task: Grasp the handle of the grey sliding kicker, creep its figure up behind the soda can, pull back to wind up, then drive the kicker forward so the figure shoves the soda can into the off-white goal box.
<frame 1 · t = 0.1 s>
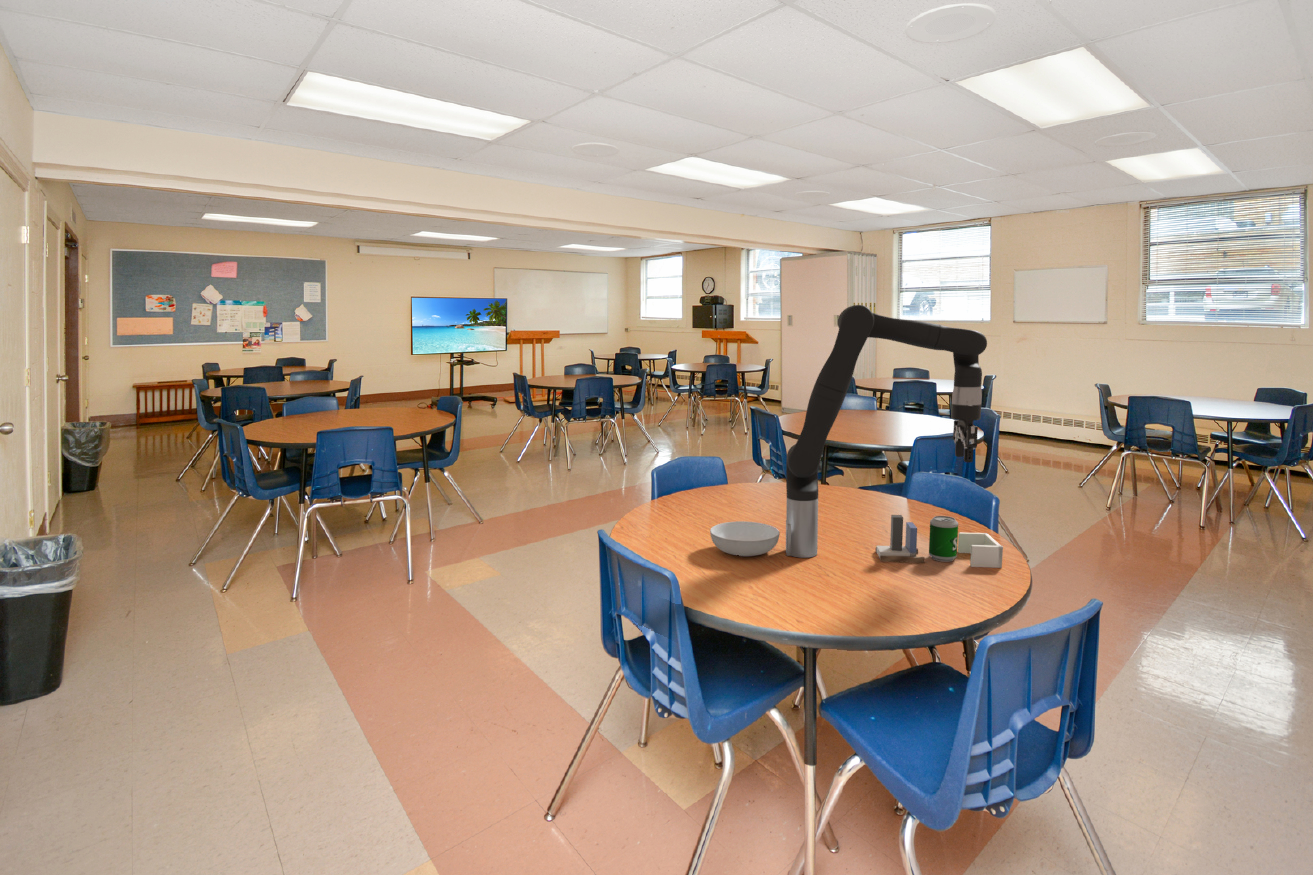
hand: (963, 459, 190), 29 cm above the table, fingers open, 8 cm apart
serving bowl: (744, 552, 204), on the table
goal: (979, 559, 192), on the table
track: (899, 557, 196), on the table
kicker: (896, 535, 195), point 6 cm above the table, slide at 0.0 cm
soda can: (942, 559, 194), on the table
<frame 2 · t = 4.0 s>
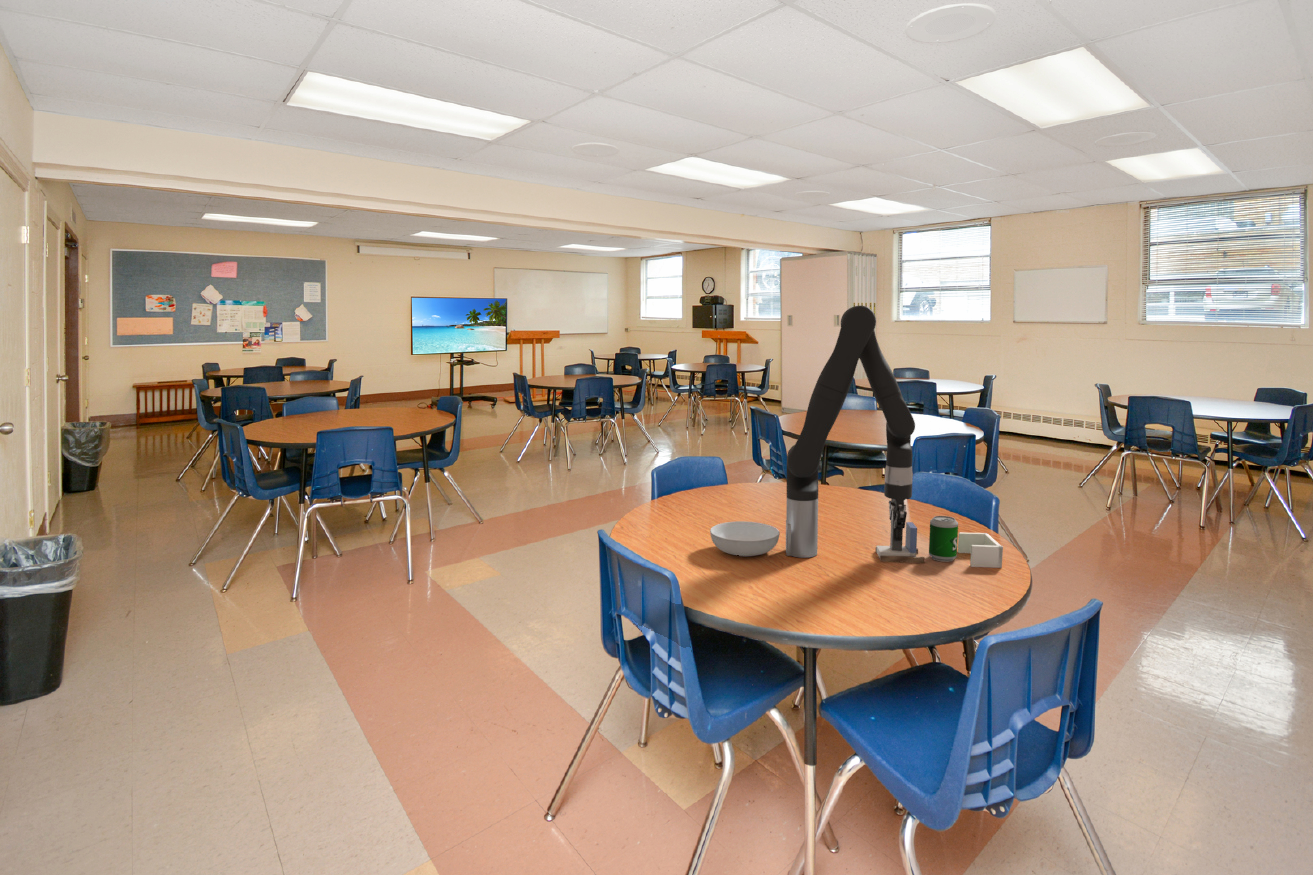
hand: (896, 538, 195), 6 cm above the table, fingers closed on kicker, 3 cm apart
kicker: (896, 535, 195), point 6 cm above the table, slide at 0.0 cm, touching gripper
everything else where it was.
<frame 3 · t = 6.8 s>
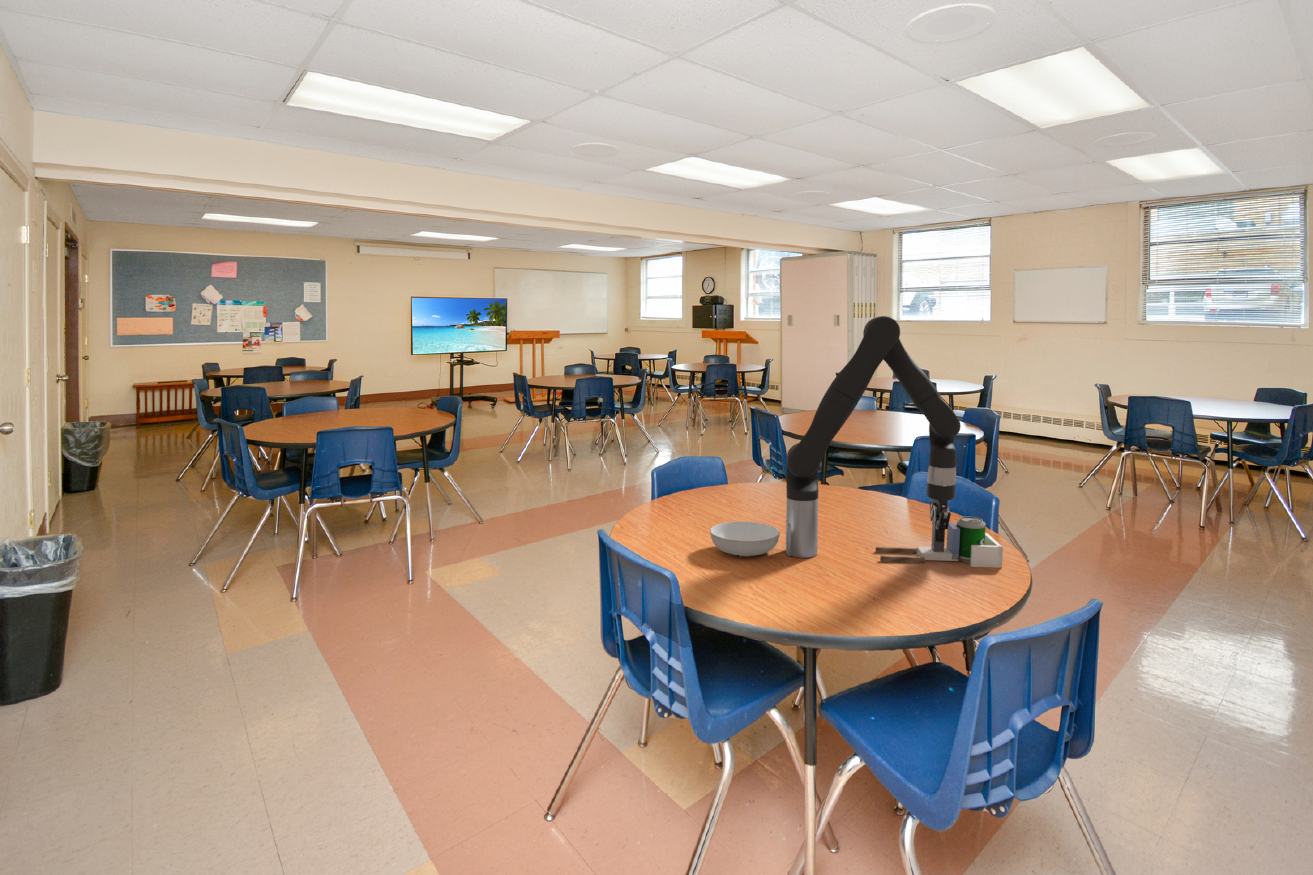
hand: (938, 539, 193), 6 cm above the table, fingers closed on kicker, 3 cm apart
kicker: (938, 537, 193), point 6 cm above the table, slide at 11.6 cm, touching gripper, soda can
soda can: (969, 560, 193), on the table, touching kicker
everything else where it was.
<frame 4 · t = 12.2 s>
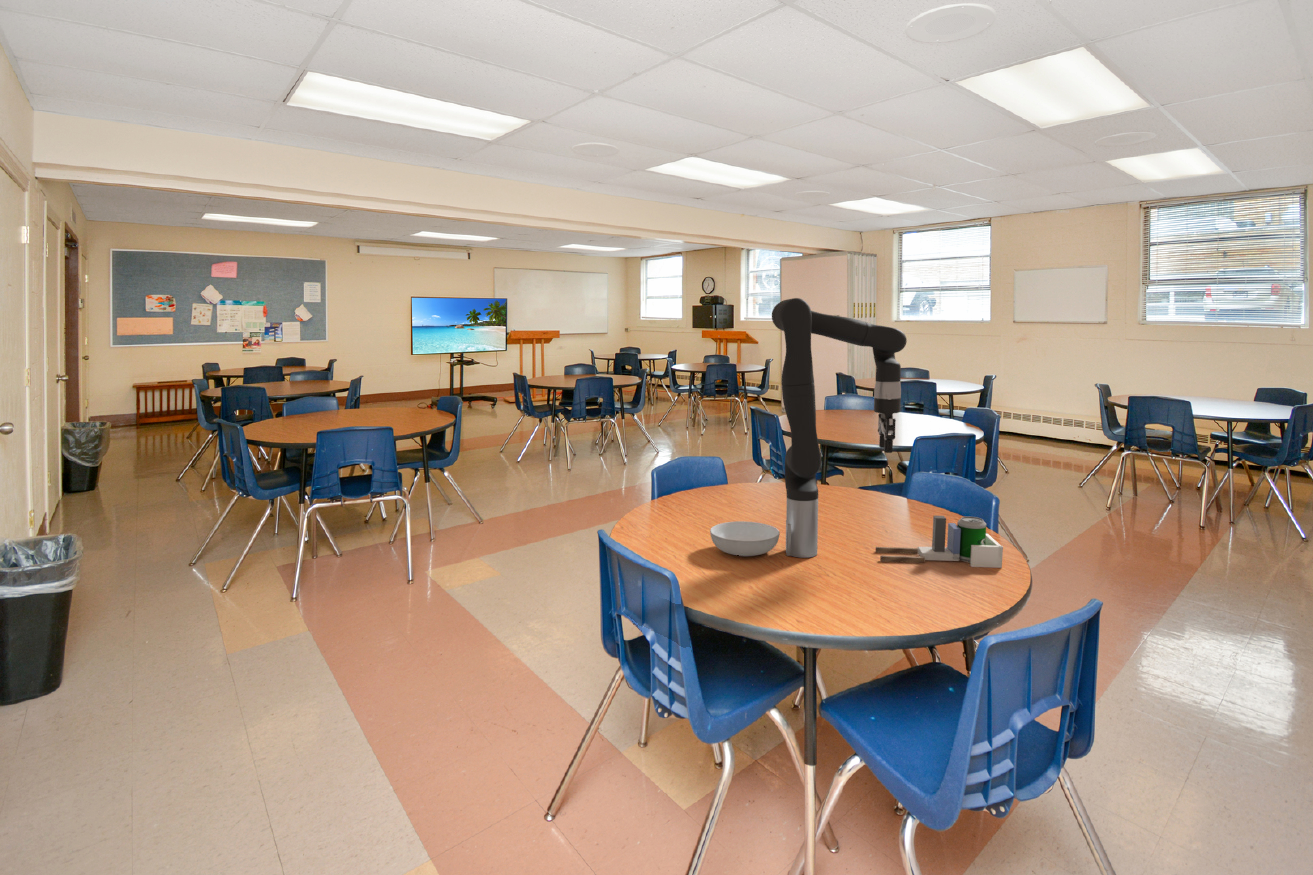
hand: (885, 450, 201), 30 cm above the table, fingers open, 8 cm apart
kicker: (938, 537, 193), point 6 cm above the table, slide at 11.7 cm
soda can: (969, 560, 192), on the table
everything else where it was.
at the end: soda can inside the target area (3.3 cm from its centre), on the table; kicker slide at 11.7 cm; the gripper is holding nothing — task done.
